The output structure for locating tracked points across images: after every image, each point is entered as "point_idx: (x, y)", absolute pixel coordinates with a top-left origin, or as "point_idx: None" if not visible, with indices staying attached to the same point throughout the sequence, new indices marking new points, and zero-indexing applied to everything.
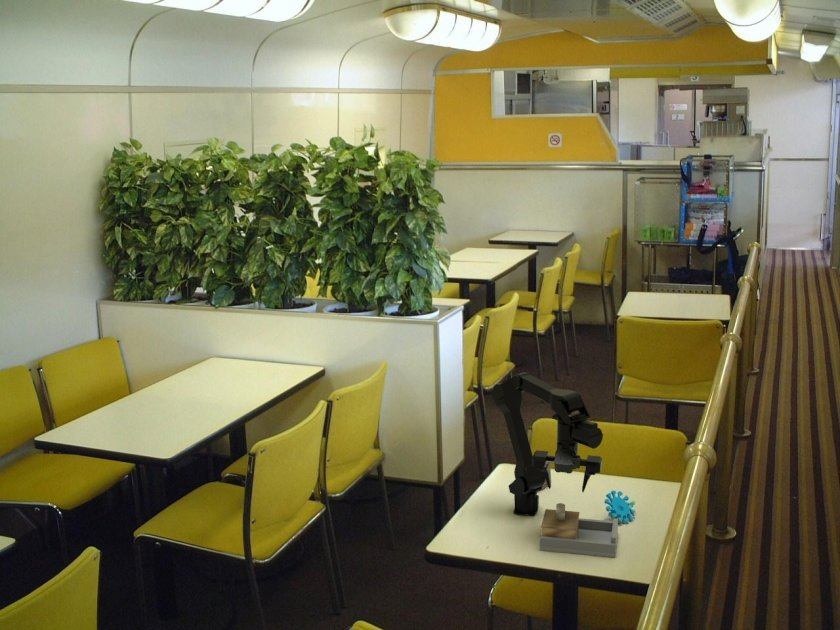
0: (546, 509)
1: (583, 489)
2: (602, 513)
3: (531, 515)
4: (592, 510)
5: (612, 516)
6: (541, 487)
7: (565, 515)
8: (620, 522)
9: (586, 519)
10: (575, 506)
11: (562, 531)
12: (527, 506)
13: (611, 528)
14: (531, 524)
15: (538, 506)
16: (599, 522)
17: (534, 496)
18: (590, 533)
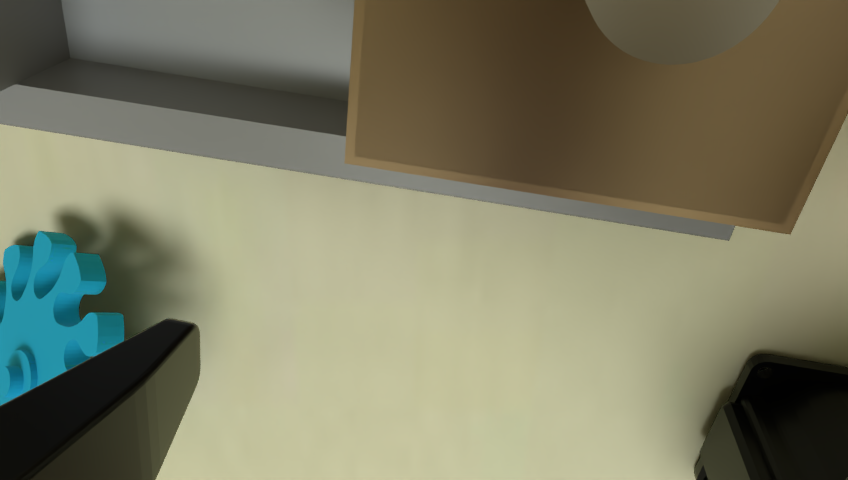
0: (782, 220)
1: (131, 350)
2: (223, 383)
3: (784, 358)
4: (295, 420)
5: (86, 262)
6: None
7: (541, 48)
8: (53, 232)
9: (294, 157)
10: (412, 470)
11: None
12: (846, 429)
13: (68, 68)
14: (825, 221)
15: (711, 453)
16: (159, 104)
17: None
18: (272, 1)
